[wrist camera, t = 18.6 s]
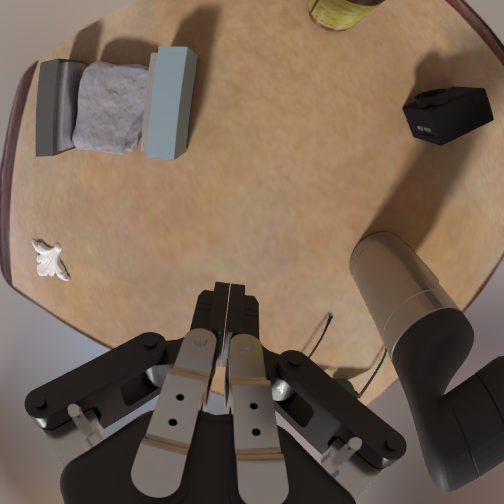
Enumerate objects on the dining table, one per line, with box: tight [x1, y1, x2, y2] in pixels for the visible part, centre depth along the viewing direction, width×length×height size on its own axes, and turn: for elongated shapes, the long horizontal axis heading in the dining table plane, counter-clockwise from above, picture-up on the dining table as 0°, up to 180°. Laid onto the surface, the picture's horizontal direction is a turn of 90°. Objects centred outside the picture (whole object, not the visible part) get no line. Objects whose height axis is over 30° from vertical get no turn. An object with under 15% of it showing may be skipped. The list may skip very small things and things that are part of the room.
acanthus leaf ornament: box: [32, 239, 71, 281], centre depth 40 cm, size 8×7×2 cm
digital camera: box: [402, 87, 494, 145], centre depth 26 cm, size 10×5×7 cm, turn 120°
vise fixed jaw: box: [36, 59, 87, 156], centre depth 27 cm, size 4×12×6 cm, turn 172°
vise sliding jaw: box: [141, 47, 198, 160], centre depth 27 cm, size 4×12×6 cm, turn 172°
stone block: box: [72, 61, 149, 154], centre depth 29 cm, size 12×5×10 cm
